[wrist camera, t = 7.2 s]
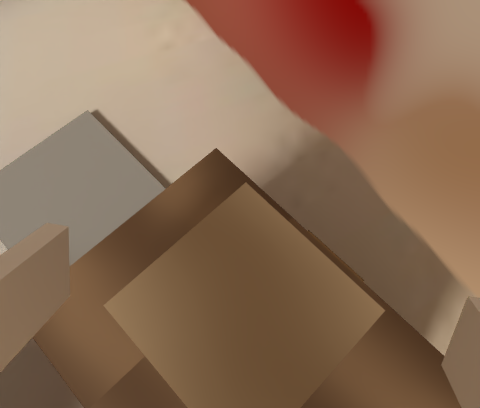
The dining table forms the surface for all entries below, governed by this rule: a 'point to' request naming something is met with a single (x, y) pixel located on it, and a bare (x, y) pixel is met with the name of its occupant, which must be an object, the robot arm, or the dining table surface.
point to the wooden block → (244, 310)
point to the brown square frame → (143, 372)
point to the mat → (74, 186)
